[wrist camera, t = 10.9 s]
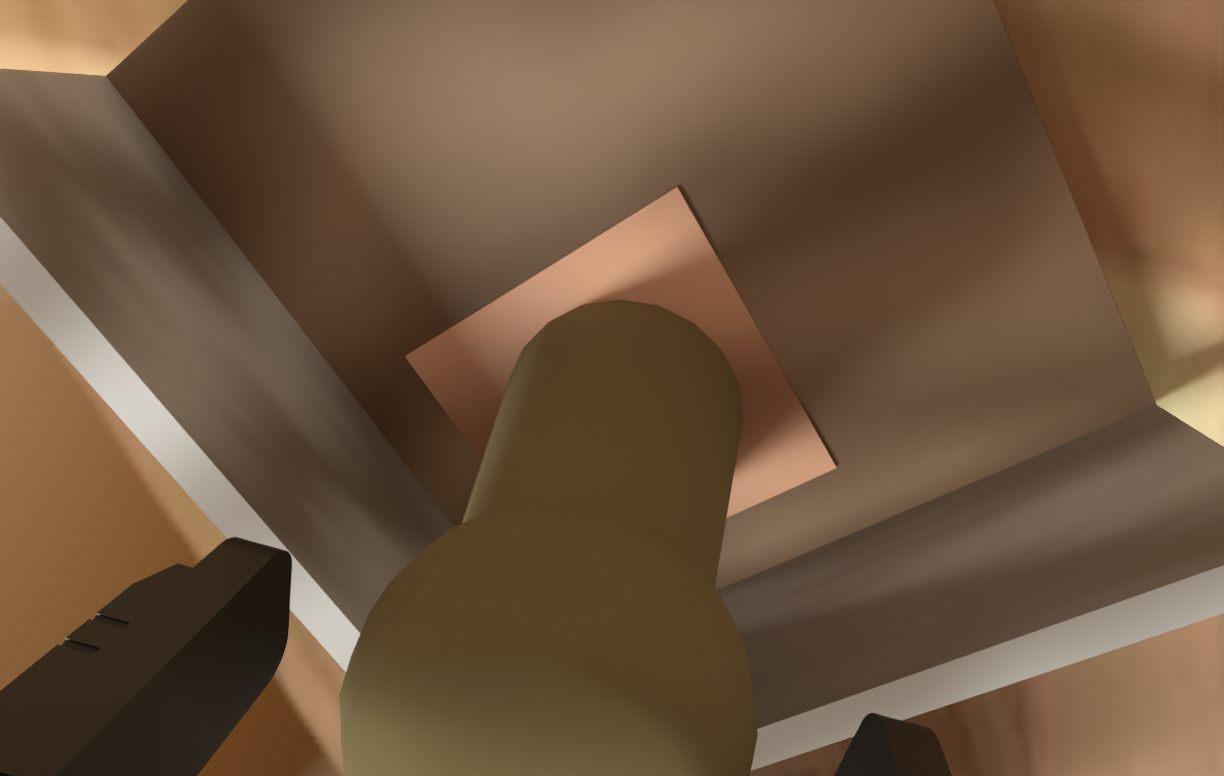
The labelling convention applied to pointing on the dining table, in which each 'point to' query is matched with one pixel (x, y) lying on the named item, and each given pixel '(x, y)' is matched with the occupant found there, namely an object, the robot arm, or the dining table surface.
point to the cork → (573, 577)
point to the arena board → (640, 272)
